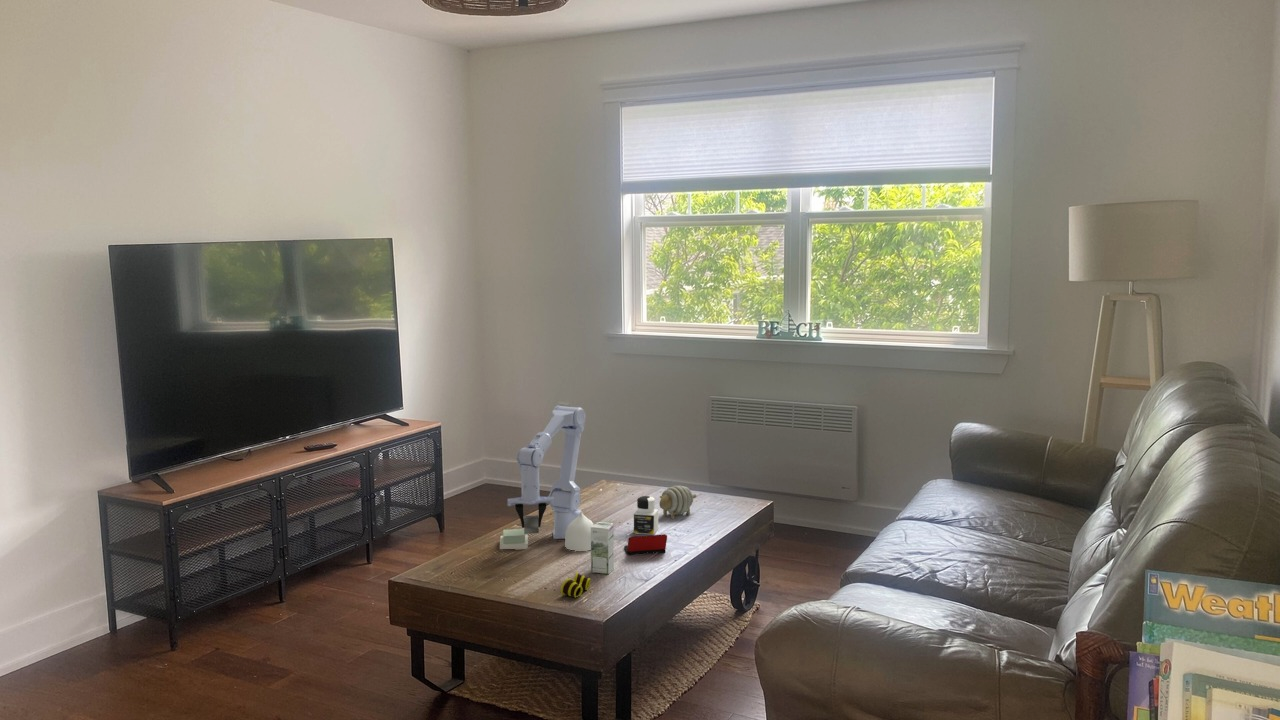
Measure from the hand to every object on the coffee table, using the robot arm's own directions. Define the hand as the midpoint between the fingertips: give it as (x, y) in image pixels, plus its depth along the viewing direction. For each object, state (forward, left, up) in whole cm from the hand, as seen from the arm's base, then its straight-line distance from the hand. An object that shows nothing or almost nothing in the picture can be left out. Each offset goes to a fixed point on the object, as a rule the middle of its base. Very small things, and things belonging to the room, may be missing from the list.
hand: (531, 526), depth 285 cm
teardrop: (-16, -4, -9) cm, 19 cm away
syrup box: (-21, +20, -9) cm, 30 cm away
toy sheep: (-53, -34, -9) cm, 64 cm away
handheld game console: (-36, +4, -9) cm, 38 cm away
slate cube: (0, 0, -2) cm, 2 cm away
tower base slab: (+6, -8, -9) cm, 14 cm away
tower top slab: (+6, -8, -7) cm, 12 cm away
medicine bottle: (-39, -17, -9) cm, 44 cm away
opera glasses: (-13, +36, -9) cm, 39 cm away
